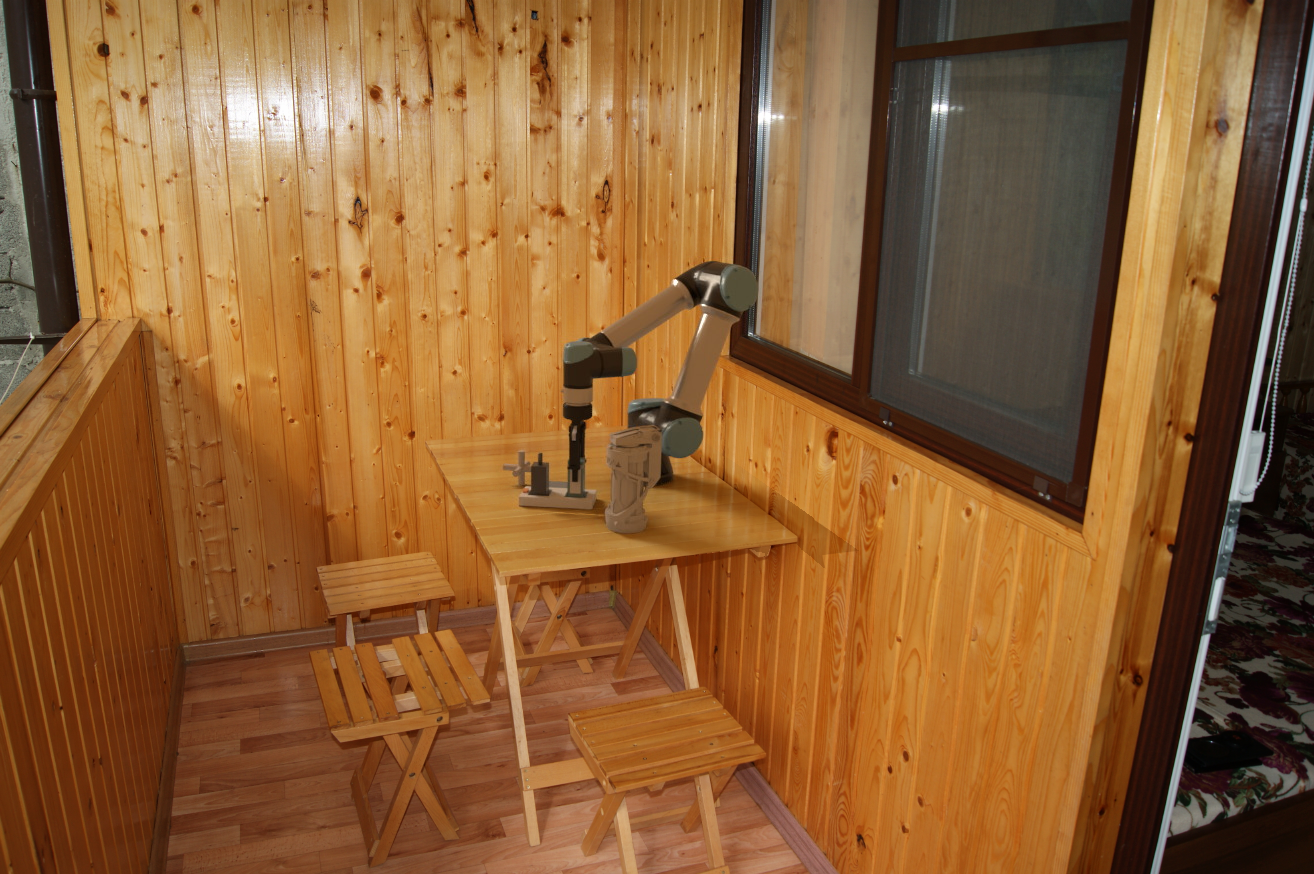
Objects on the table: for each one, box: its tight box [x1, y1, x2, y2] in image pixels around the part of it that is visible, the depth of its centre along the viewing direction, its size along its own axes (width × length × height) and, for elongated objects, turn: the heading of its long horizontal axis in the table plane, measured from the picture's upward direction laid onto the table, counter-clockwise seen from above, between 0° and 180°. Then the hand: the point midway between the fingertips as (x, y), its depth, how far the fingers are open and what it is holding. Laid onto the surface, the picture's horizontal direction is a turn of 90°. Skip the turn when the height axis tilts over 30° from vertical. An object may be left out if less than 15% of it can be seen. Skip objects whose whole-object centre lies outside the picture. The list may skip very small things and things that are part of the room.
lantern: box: [604, 425, 662, 534], centre depth 254 cm, size 13×10×25 cm
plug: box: [566, 456, 587, 498], centre depth 269 cm, size 4×4×10 cm
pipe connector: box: [502, 449, 532, 486], centre depth 284 cm, size 10×10×10 cm
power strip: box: [518, 485, 598, 511], centre depth 271 cm, size 19×9×4 cm, turn 86°
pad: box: [549, 480, 568, 488], centre depth 284 cm, size 10×10×1 cm
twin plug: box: [530, 452, 550, 496], centre depth 270 cm, size 4×4×13 cm
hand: (576, 489), depth 270 cm, fingers closed on plug, 4 cm apart
